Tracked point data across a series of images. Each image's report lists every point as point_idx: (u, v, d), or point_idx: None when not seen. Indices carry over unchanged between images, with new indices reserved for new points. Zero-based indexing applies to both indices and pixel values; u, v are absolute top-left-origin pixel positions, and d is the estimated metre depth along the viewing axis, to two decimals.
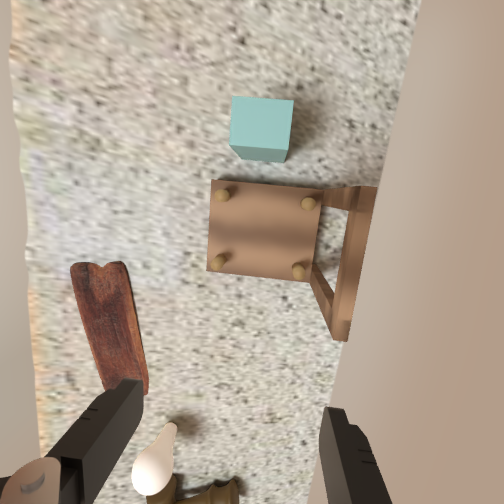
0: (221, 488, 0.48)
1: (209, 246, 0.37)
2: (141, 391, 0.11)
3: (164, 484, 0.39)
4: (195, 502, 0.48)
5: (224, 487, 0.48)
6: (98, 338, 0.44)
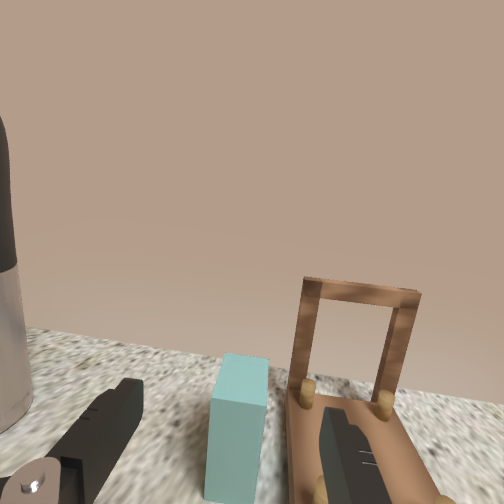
0: None
1: None
2: (141, 391, 0.11)
3: None
4: None
5: None
6: None
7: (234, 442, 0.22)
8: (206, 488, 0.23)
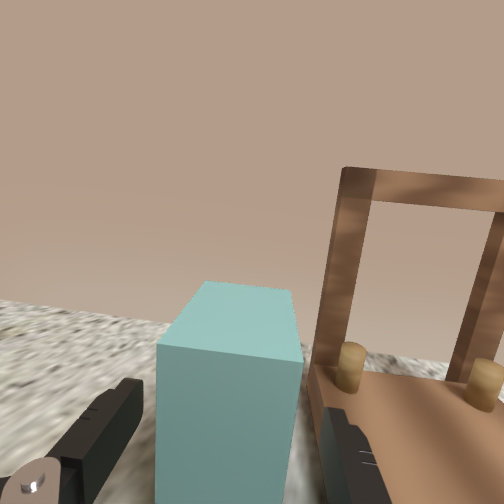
0: None
1: None
2: (141, 391, 0.11)
3: None
4: None
5: None
6: None
7: (219, 459, 0.09)
8: None
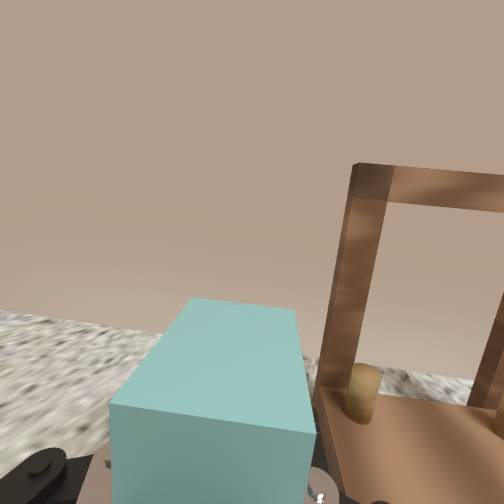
0: None
1: None
2: None
3: None
4: None
5: None
6: None
7: None
8: None
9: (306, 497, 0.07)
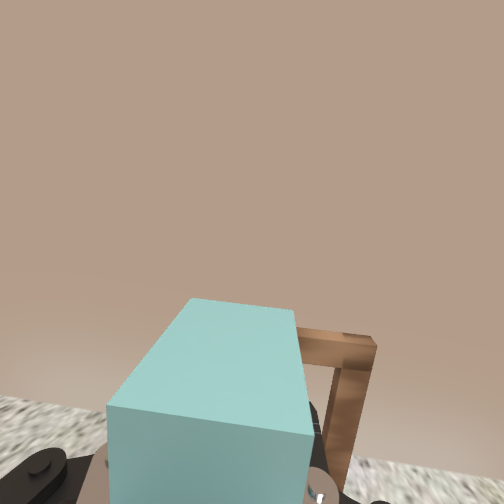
0: None
1: None
2: None
3: None
4: None
5: None
6: None
7: None
8: None
9: (306, 497, 0.07)
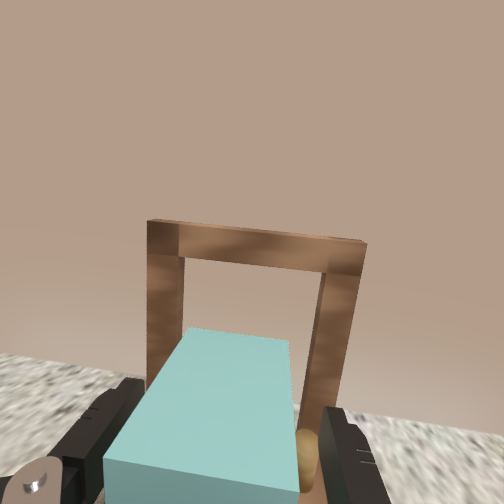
0: None
1: None
2: (142, 391, 0.11)
3: None
4: None
5: None
6: None
7: None
8: None
9: None
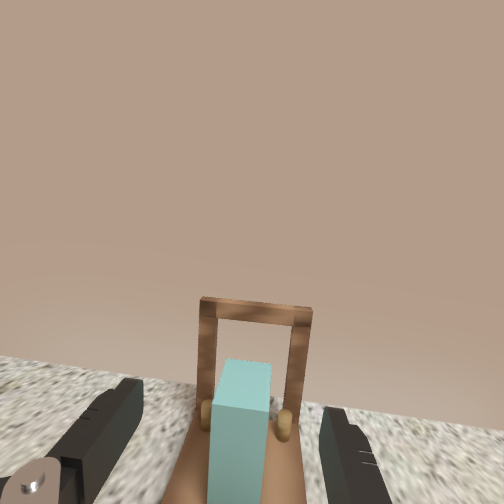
0: None
1: None
2: (141, 391, 0.11)
3: None
4: None
5: None
6: None
7: (236, 451, 0.21)
8: (209, 500, 0.22)
9: None
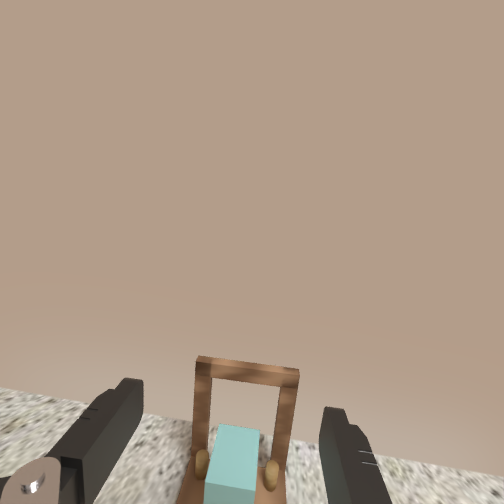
0: None
1: None
2: (141, 391, 0.11)
3: None
4: None
5: None
6: None
7: None
8: None
9: None
